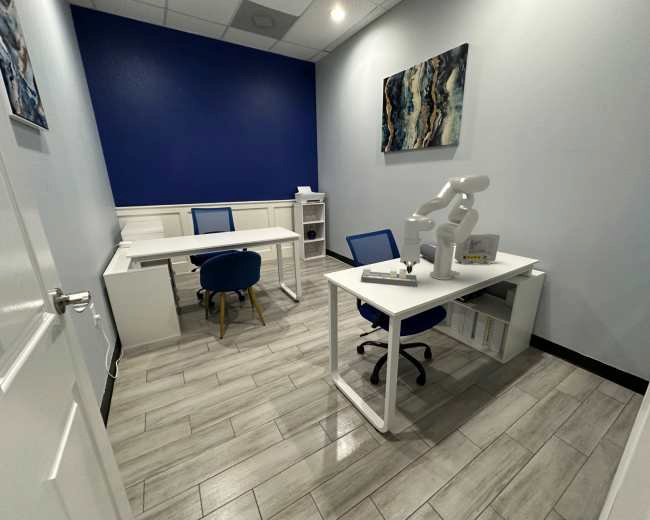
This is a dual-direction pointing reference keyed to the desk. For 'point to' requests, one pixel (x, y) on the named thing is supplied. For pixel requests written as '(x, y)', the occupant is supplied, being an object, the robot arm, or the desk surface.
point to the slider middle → (393, 273)
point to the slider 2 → (402, 273)
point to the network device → (477, 249)
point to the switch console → (389, 279)
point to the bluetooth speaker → (428, 252)
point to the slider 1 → (366, 270)
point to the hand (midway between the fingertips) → (409, 272)
